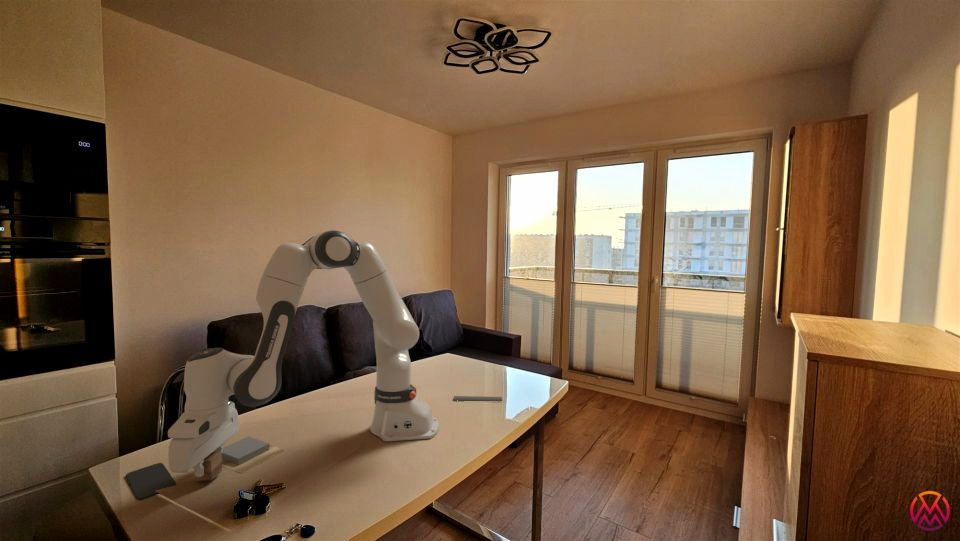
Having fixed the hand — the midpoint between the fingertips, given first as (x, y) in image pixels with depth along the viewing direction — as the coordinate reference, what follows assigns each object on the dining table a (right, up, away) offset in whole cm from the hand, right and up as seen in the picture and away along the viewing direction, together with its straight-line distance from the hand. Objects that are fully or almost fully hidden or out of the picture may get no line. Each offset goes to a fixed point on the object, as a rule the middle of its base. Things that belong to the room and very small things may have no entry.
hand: (208, 468), depth 95 cm
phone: (-14, -3, -1) cm, 14 cm away
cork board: (+2, -3, +12) cm, 12 cm away
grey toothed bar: (+67, -3, +58) cm, 89 cm away
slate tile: (+5, -1, +10) cm, 12 cm away
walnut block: (0, -2, 0) cm, 2 cm away
